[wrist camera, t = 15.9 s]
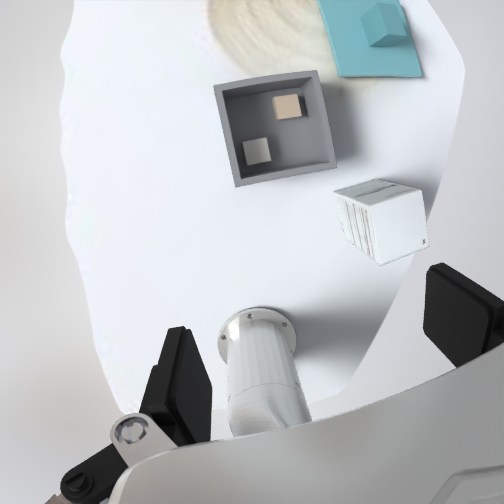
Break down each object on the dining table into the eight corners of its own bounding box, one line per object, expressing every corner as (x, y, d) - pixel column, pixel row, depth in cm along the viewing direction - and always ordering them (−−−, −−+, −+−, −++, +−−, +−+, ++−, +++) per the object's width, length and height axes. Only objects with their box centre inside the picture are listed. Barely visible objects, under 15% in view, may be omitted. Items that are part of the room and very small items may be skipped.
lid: (414, 78, 37) (445, 69, 29) (335, 79, 37) (358, 65, 29) (391, 4, 33) (416, -15, 25) (312, -1, 33) (328, -27, 25)
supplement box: (375, 177, 42) (424, 187, 30) (384, 224, 44) (431, 248, 32) (331, 190, 42) (368, 204, 30) (342, 238, 44) (379, 268, 32)
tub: (320, 165, 41) (337, 168, 34) (234, 182, 40) (235, 187, 34) (303, 82, 37) (316, 70, 30) (216, 97, 37) (213, 85, 30)
